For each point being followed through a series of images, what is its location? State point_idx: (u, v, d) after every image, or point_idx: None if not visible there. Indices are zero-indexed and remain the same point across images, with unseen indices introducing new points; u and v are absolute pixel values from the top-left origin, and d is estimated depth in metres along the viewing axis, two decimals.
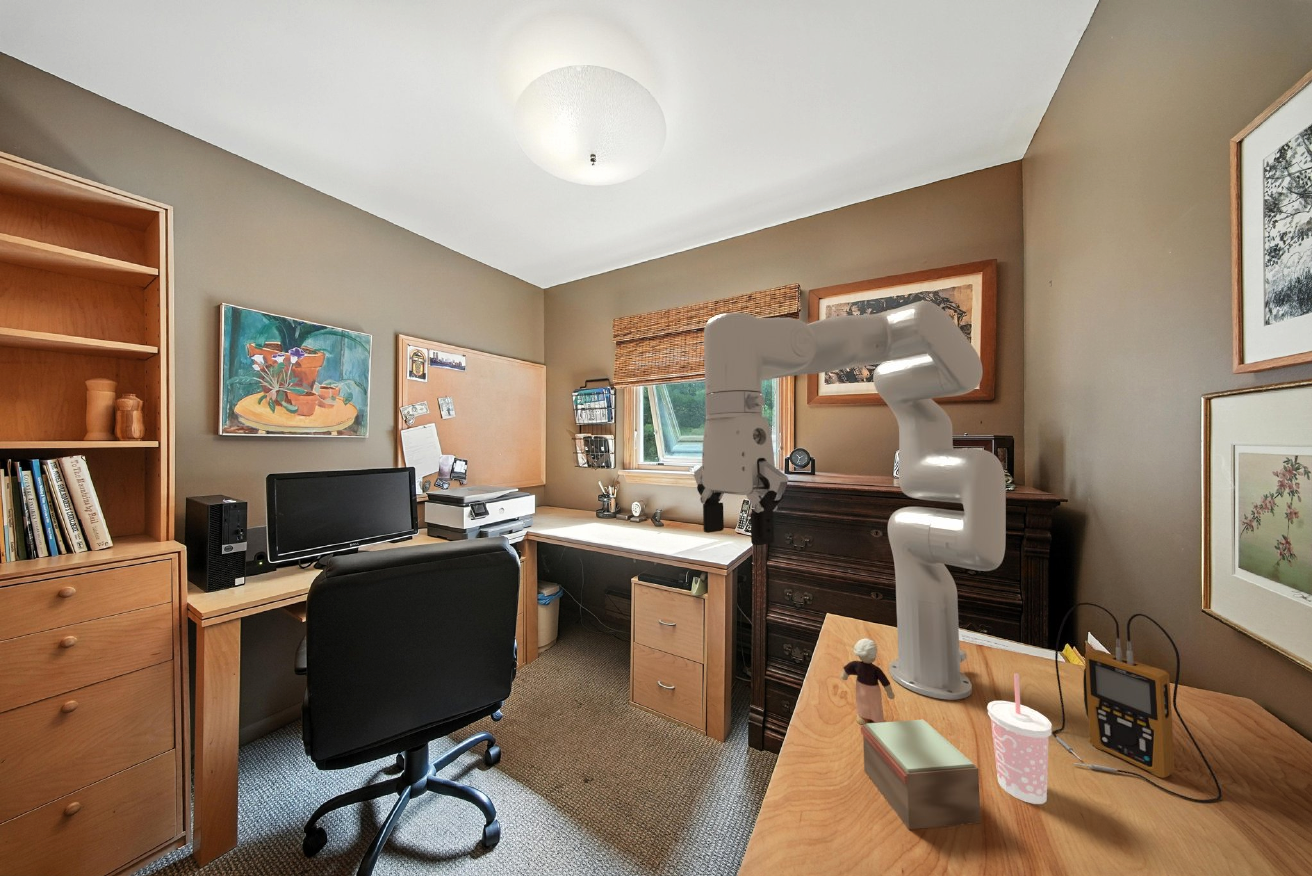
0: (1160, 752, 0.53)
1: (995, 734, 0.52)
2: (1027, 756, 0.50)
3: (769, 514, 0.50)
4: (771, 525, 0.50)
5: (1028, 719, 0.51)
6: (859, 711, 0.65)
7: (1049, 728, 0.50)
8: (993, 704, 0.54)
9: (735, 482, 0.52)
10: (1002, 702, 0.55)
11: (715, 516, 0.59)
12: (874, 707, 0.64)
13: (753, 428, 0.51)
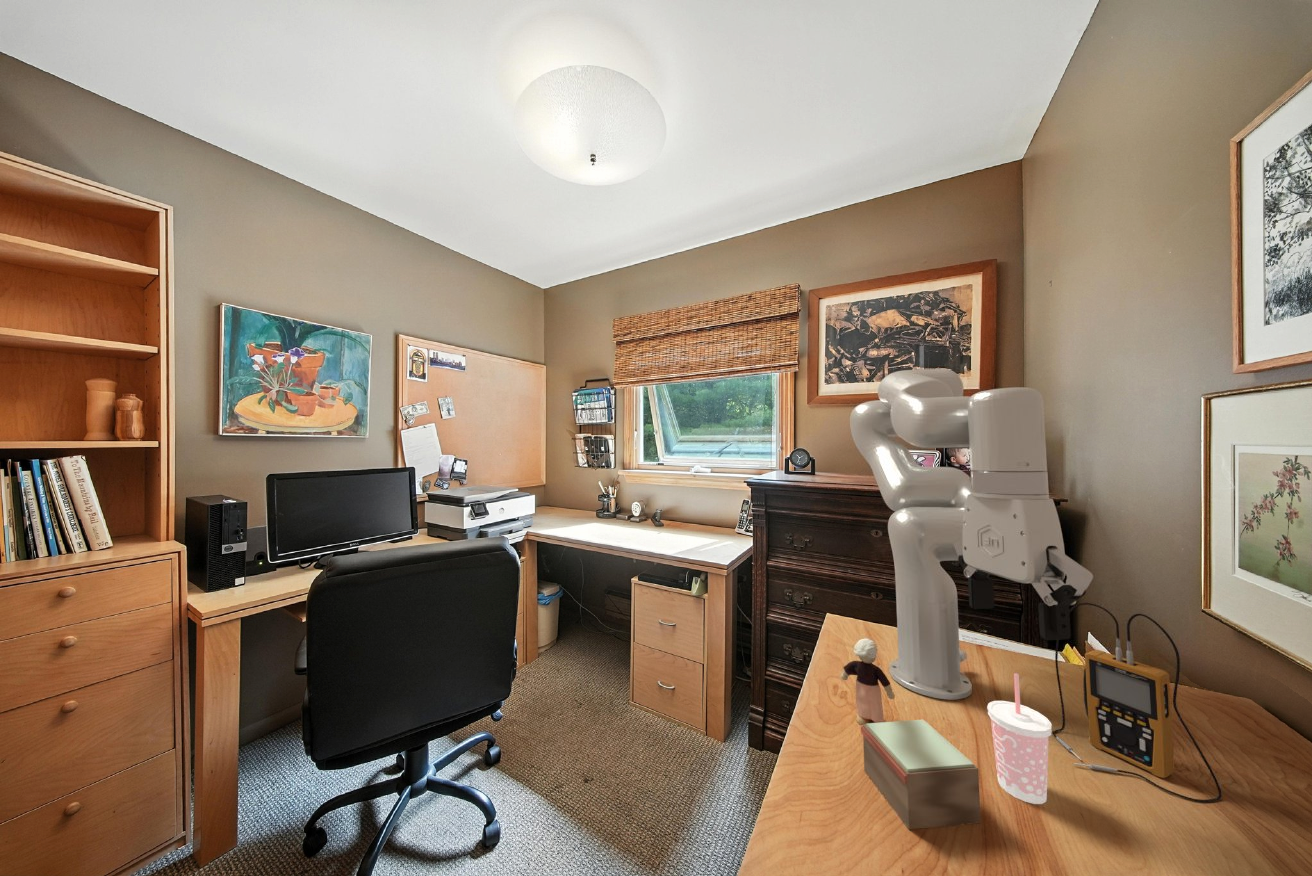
0: (1160, 752, 0.53)
1: (995, 734, 0.52)
2: (1027, 756, 0.50)
3: None
4: None
5: (1028, 719, 0.51)
6: (859, 711, 0.65)
7: (1049, 728, 0.50)
8: (993, 704, 0.54)
9: None
10: (1002, 702, 0.55)
11: None
12: (874, 707, 0.64)
13: None
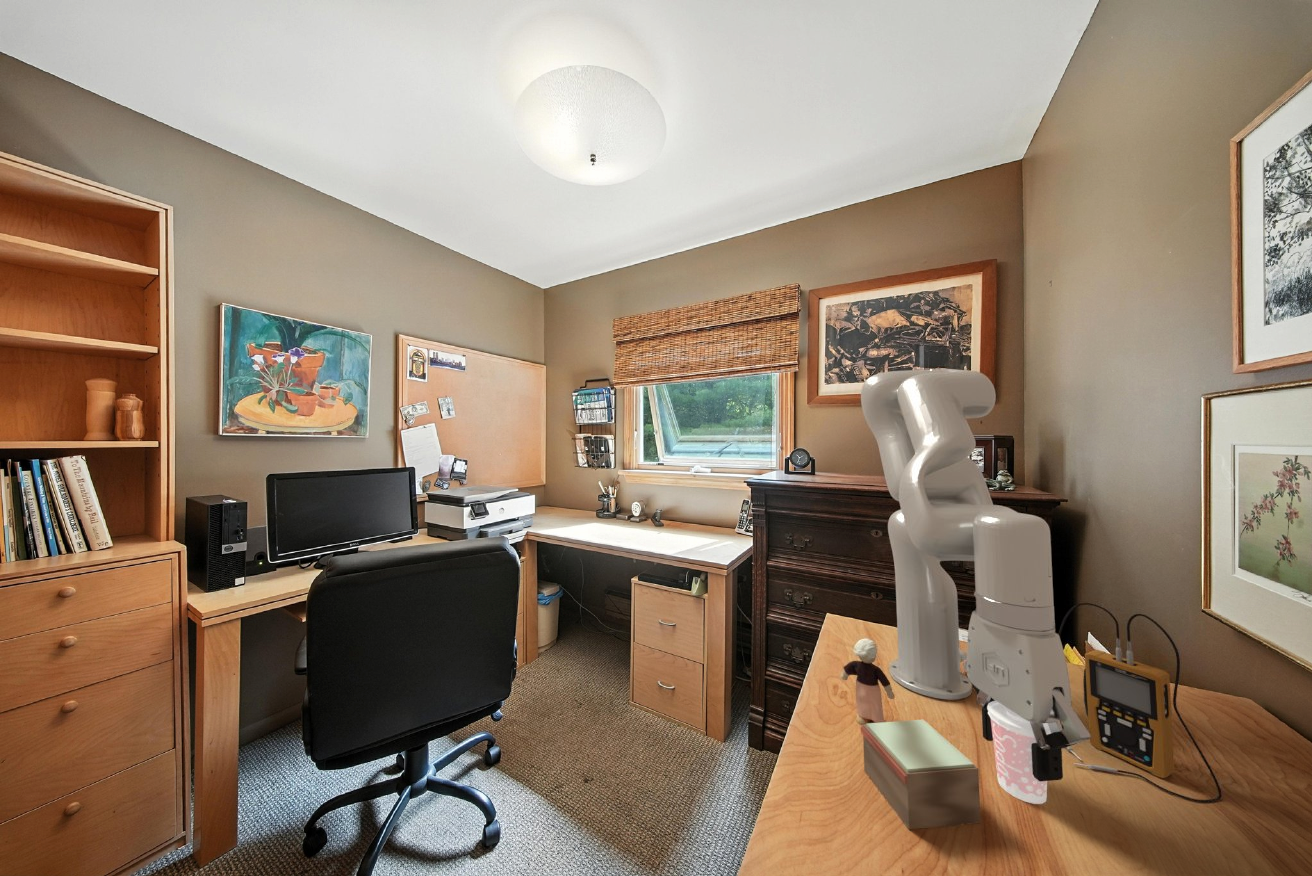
0: (1160, 752, 0.53)
1: (995, 734, 0.52)
2: (1027, 756, 0.50)
3: None
4: None
5: None
6: (859, 711, 0.65)
7: None
8: (993, 704, 0.54)
9: None
10: None
11: None
12: (874, 707, 0.64)
13: None
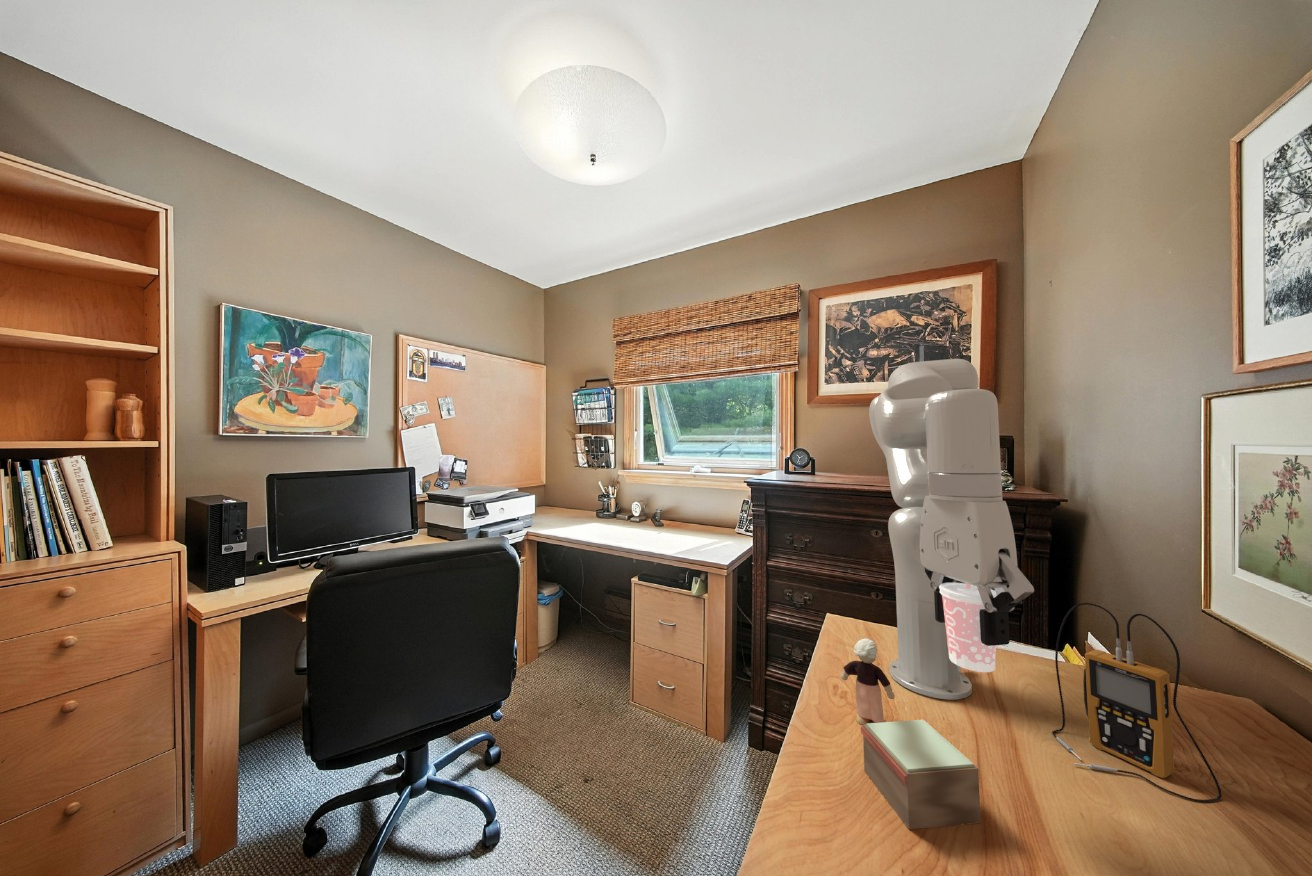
0: (1160, 752, 0.53)
1: (946, 610, 0.52)
2: (976, 624, 0.50)
3: None
4: None
5: (977, 591, 0.51)
6: (859, 711, 0.65)
7: None
8: (945, 584, 0.54)
9: None
10: (954, 583, 0.55)
11: None
12: (874, 707, 0.64)
13: None
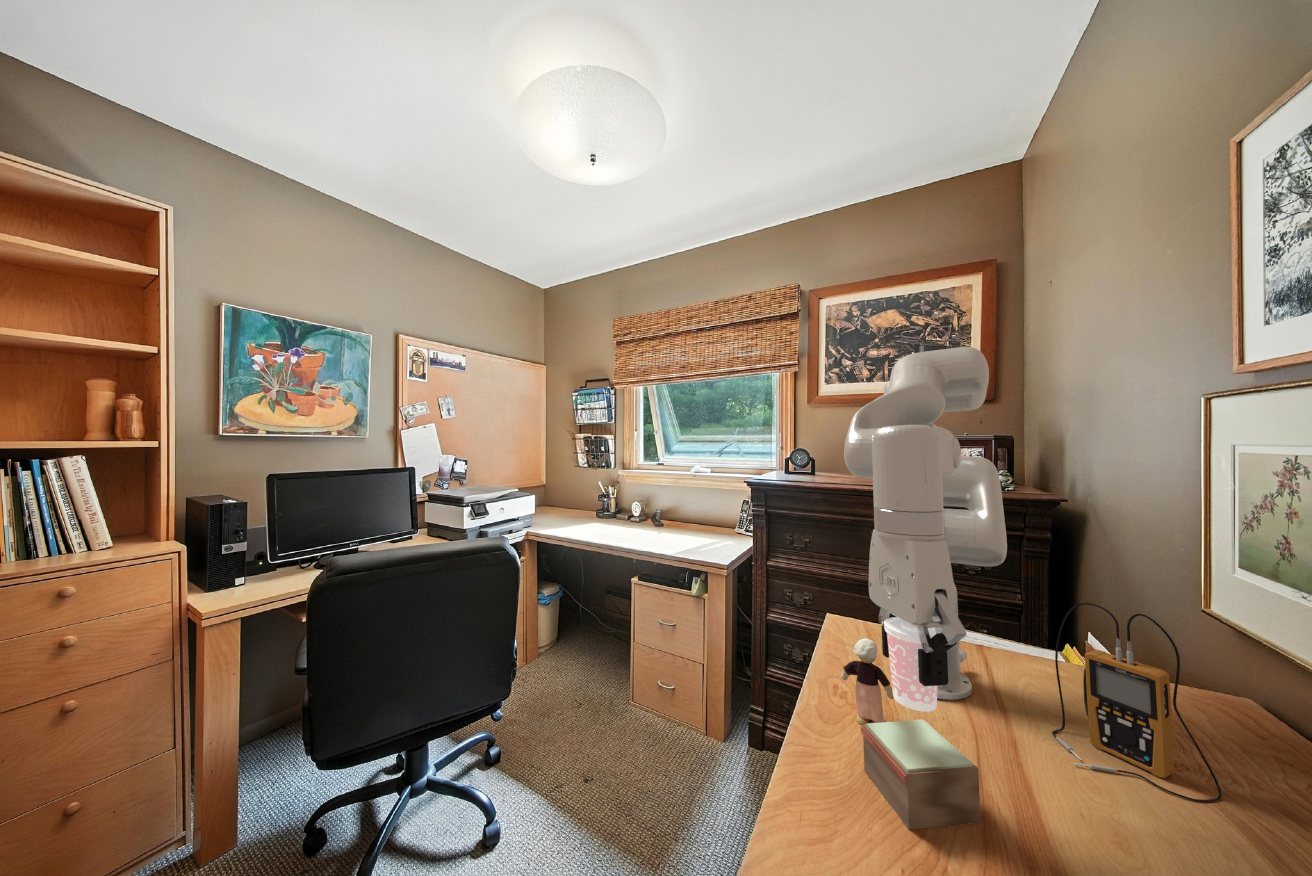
0: (1160, 752, 0.53)
1: (889, 646, 0.52)
2: (915, 663, 0.49)
3: None
4: None
5: None
6: (859, 711, 0.65)
7: None
8: (891, 619, 0.54)
9: None
10: None
11: None
12: (874, 707, 0.64)
13: None
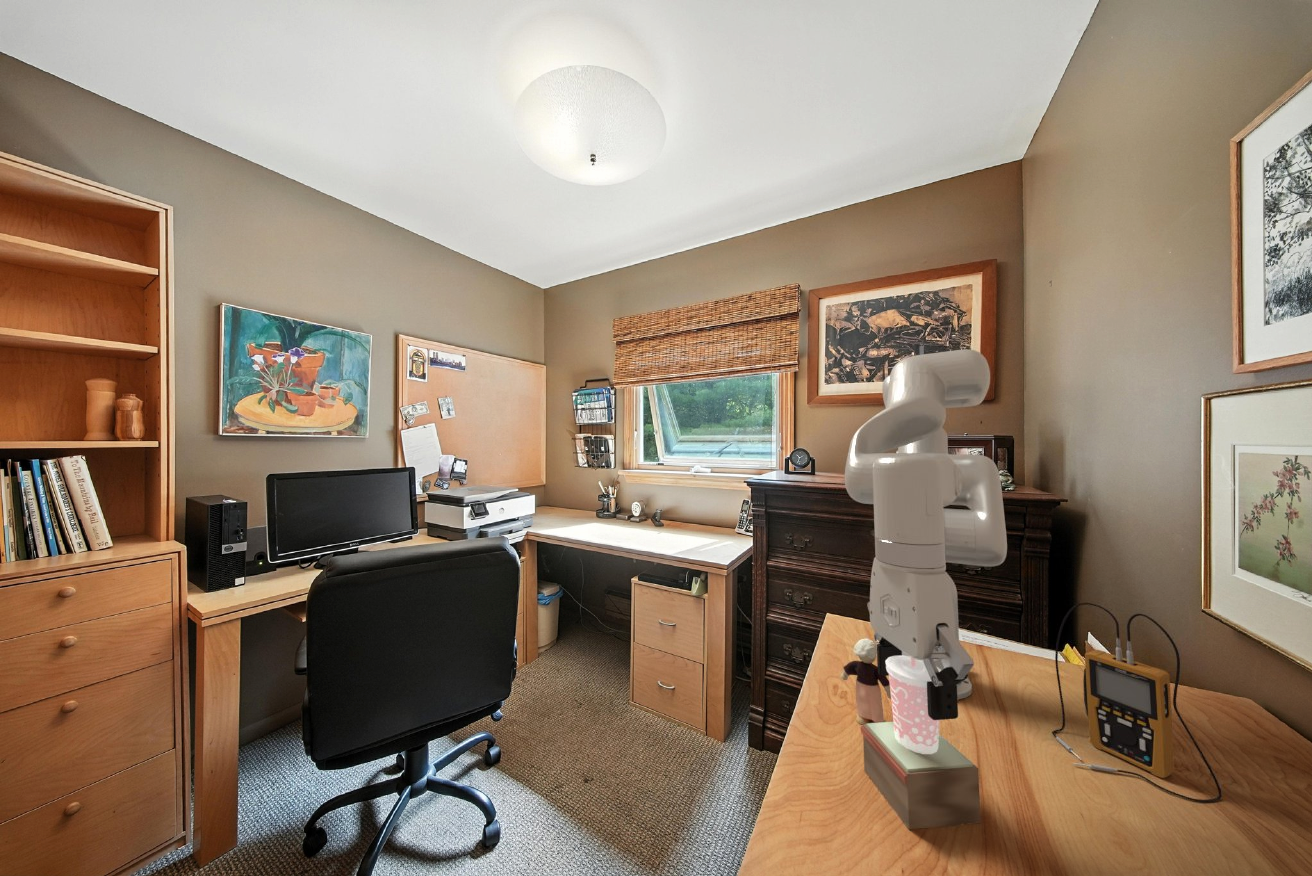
0: (1160, 752, 0.53)
1: (891, 687, 0.52)
2: (917, 706, 0.49)
3: None
4: None
5: (921, 671, 0.51)
6: (859, 711, 0.65)
7: None
8: (892, 658, 0.54)
9: None
10: (902, 656, 0.54)
11: None
12: (874, 707, 0.64)
13: None
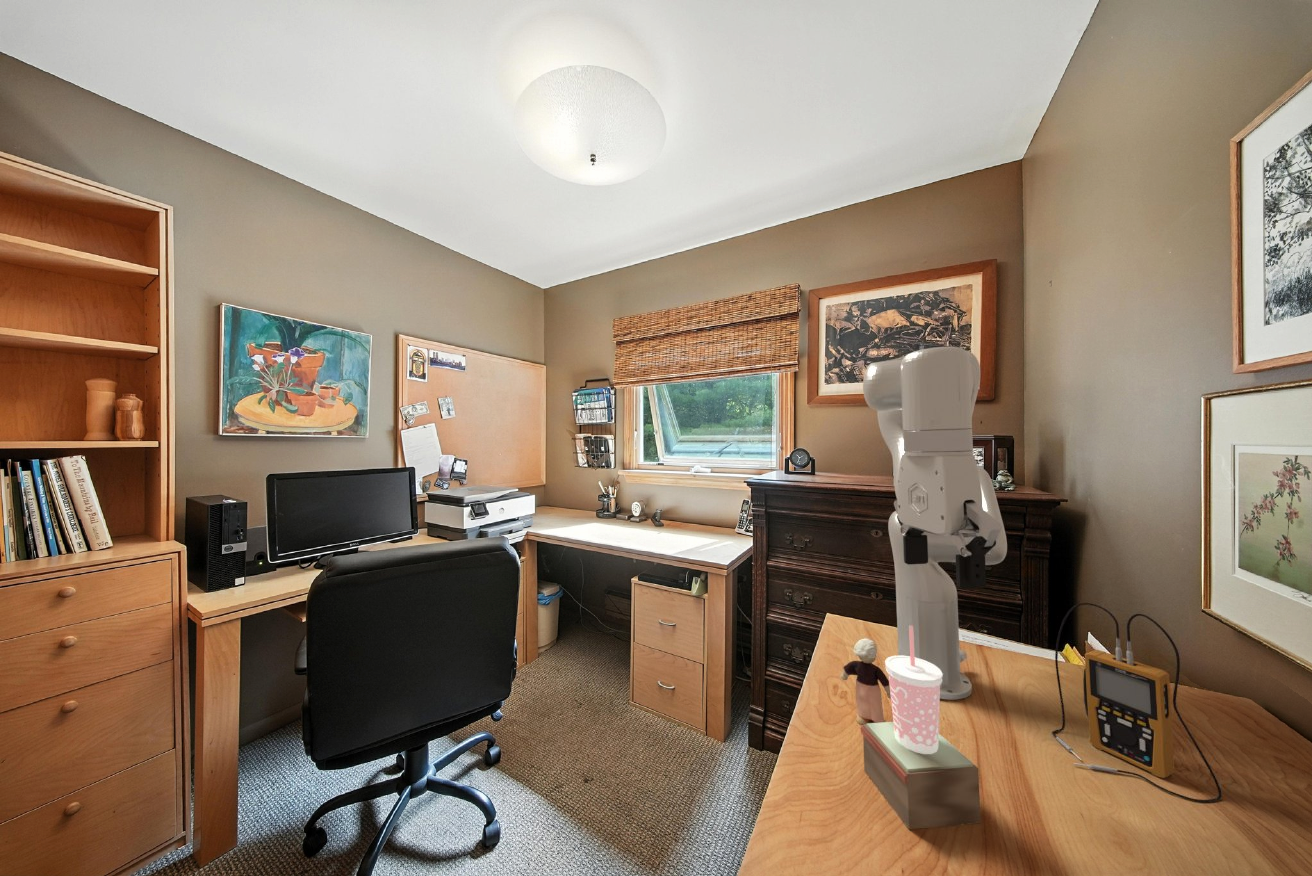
0: (1160, 752, 0.53)
1: (890, 687, 0.52)
2: (916, 706, 0.49)
3: None
4: None
5: (921, 670, 0.51)
6: (859, 711, 0.65)
7: (938, 678, 0.49)
8: (892, 658, 0.54)
9: None
10: (901, 656, 0.55)
11: None
12: (874, 707, 0.64)
13: None
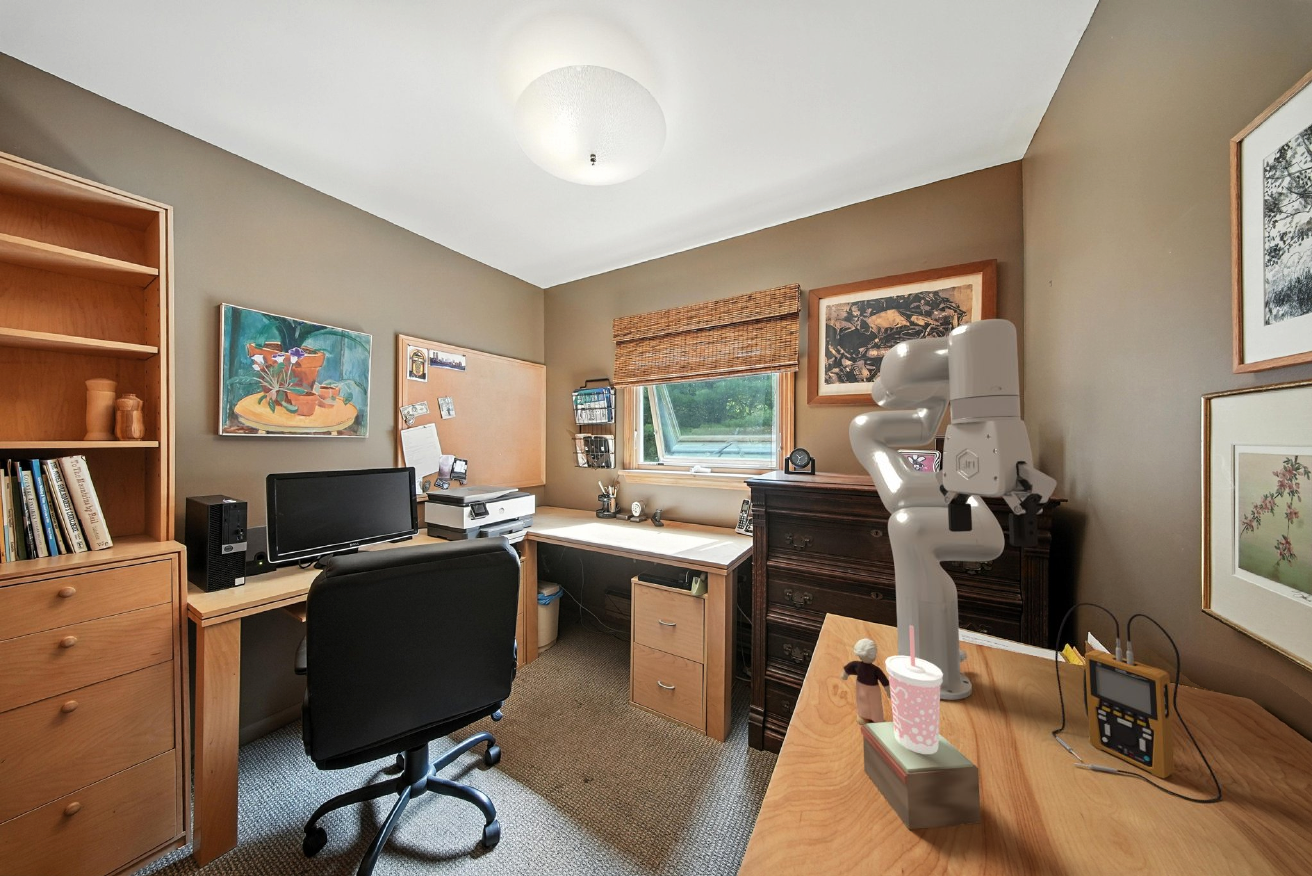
0: (1160, 752, 0.53)
1: (891, 687, 0.52)
2: (917, 706, 0.49)
3: None
4: None
5: (921, 670, 0.51)
6: (859, 711, 0.65)
7: (939, 678, 0.49)
8: (892, 658, 0.54)
9: None
10: (902, 657, 0.55)
11: None
12: (874, 707, 0.64)
13: None
